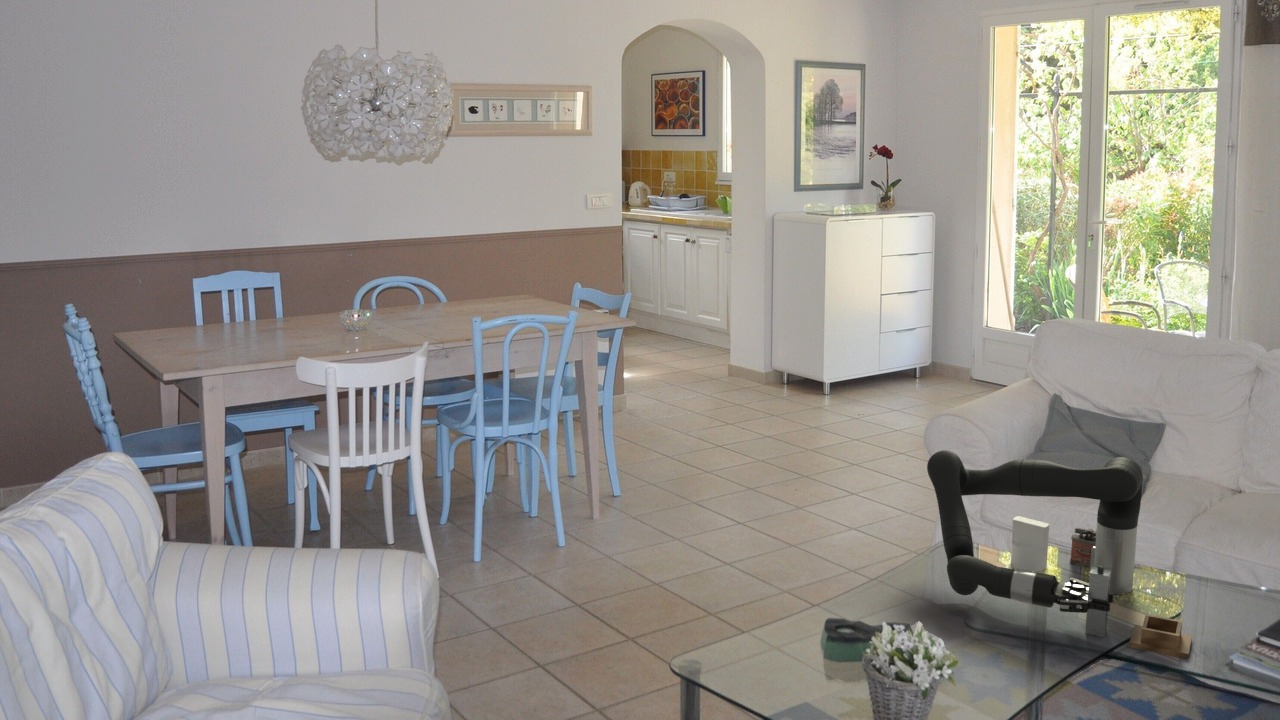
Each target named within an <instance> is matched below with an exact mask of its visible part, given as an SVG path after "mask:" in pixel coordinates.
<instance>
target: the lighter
mask: <svg viewBox="0 0 1280 720" xmlns="http://www.w3.org/2000/svg"><path fill="white" fill-rule="evenodd" d="M1070 537H1071V539H1070V540H1071V550H1070V552H1071V554H1070V558H1069V563H1070V564H1071V565H1073V566H1077V567H1081V568H1084V569H1085V568H1087V569H1090V565H1091V551H1092V547H1094V546H1095V543H1096V530H1094V529H1092V528H1088V529H1085V528H1082V527H1078V526H1077V527H1075V528H1074V534H1071V536H1070Z"/></svg>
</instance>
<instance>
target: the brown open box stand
mask: <svg viewBox="0 0 1280 720" xmlns="http://www.w3.org/2000/svg"><path fill="white" fill-rule="evenodd" d="M1182 626H1183V620H1179V619H1174V618H1168V617H1164V616H1158V615H1153V614H1147V613H1146V614H1145V615H1144V619H1143V623H1142V625H1140V624H1139V625H1138V624H1134V626H1133V629H1132V633H1131V636H1130V639H1129V643H1128V644H1129V645H1128V647H1129V648H1132V649H1137V650H1143V651H1147V652H1153V653H1158V654H1162V655H1167V656H1172V657H1176V658H1183V659H1187V660H1188V659H1189V657H1190V656H1189V655H1190V652H1191V645H1192V640H1193V635H1191V634H1185V633H1182V631H1183V630H1182V629H1183V627H1182Z"/></svg>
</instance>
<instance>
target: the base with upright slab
mask: <svg viewBox="0 0 1280 720" xmlns="http://www.w3.org/2000/svg"><path fill="white" fill-rule="evenodd" d="M1011 534H1012V535H1011V551H1010V552H1011V553H1010V554H1011V555H1010V564H1011V566H1012V567H1013V568H1016V570H1026V571H1032V572H1041V571H1043V570H1046V568H1047V567H1048V555H1049V554H1048V550H1049V536H1050V523H1047V522H1045V521H1039V520H1036V519H1032V518H1028V517H1025V516H1020V515H1017V516H1015V517H1013V518H1012V531H1011Z"/></svg>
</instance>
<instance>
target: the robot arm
mask: <svg viewBox="0 0 1280 720" xmlns="http://www.w3.org/2000/svg"><path fill="white" fill-rule="evenodd" d="M926 465H927V466H926V469H927V470H926V471H927V474H928V477H929V479H930V481H931V483H932V486H933V489H934V493H935V495H936V501H937V507H938V512H939V519H940V527H941V535H942V543H943V547H944V551H945V555H946V558H947V565H946V572H947V575H948V581H949V585H950V587H951V588H952V590H953V591H954V592H955V593H957V594H959V595H961V596H970V595H972V594H974V593H975V592H976V591H977V589H978V588H979V586H980V587H984V588H985V589H986V592H988V593H989V594H990V595H991V596H994V597H999V598H1004V599H1009V600H1014V601H1016V602H1020V603H1025V604H1030V605H1034V606H1040V607H1046V608H1053V607H1054V605H1055V604H1056V605H1059V612H1062V613H1063V612H1064V613H1067V612H1068V613H1079V614H1081V613H1082V614H1087V610H1091V609H1096V610H1101V611H1106V612H1108V613H1109V612H1110V610H1111V604H1112V603H1113V602H1114V595H1124V594H1123V593H1126V594H1128V592H1129V593H1131V592H1132V591H1133V587H1134V585H1133V584H1134V574H1135V571H1134V570H1135V561H1136V551H1137V550H1136V548H1137V536H1138V535H1137V534H1138V525H1139V516H1140V513H1141V512H1140V511H1141V502H1142V495H1143V494H1142V493H1143V482H1144V480H1143V479H1144V476H1143V471H1142V469H1141V467H1140V465H1139V464H1138V463H1137V462H1136V461H1135V460H1133V459H1132V458H1129V457H1125V456H1119V457H1115V458H1114V457H1113V458H1111V459H1110V460H1109V461H1107V463H1105V465H1104V466H1103V467H1101V468H1100V467H1099V468H1076V467H1075V468H1074V467H1070V466H1066V465H1063V464H1059V463H1056V462H1052V461H1050V460H1042V459H1027V458H1026V459H1014V460H1013V459H1012V460H1010V461H1008V462H1005V463H1003V464H1001V465H998V466H995V467H994V468H991V469H970V468H969V469H968V468H965V466H964V463H963V461H962V459H961V458H960V456H958V455H957V453H956V452H953V451H951V450H946V449H943V450H939V451H936V452H935V453H933V454H932V455H931V456H930V458H929V459H928V460H927V464H926ZM977 495H979V496H980V495H994V496H997V495H998V496H1001V495H1002V496H1021V497H1022V496H1024V497H1054V498H1082V499H1091V500H1098V501H1099V505H1098V509H1097V515H1096V516H1097V517H1096V528H1095V529H1096V530H1095V531H1096V543H1095V546H1094V547H1092V551H1091V565H1090V568H1089V569H1090V570H1089V572H1090V571H1091V568H1092V566H1097V567H1098V565H1104V568H1108V569H1111V578H1110V591H1109V602H1108V601H1102V600H1096V599H1093V601H1092V599H1091V598H1088V590H1089V582H1086V581H1083V580H1080V579H1077V578H1074V577H1070V578H1069V581H1068V582H1059V581H1058V579H1057V576H1056V575H1052V574H1048V573H1041V572H1038V571H1035V572H1033V571H1026V570H1020V569H1013V568H1007V567H1003V566H997V565H995V564H992V563H990V562H988V561H986V560H983V559H981V558H977V557H975V555H974V543H973V542H974V541H973V536H972V531H971V526H970V522H969V517H968V514H967V511H966V508H965V504H964V500H963V497H964V496H977ZM1130 591H1131V592H1130Z"/></svg>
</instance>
